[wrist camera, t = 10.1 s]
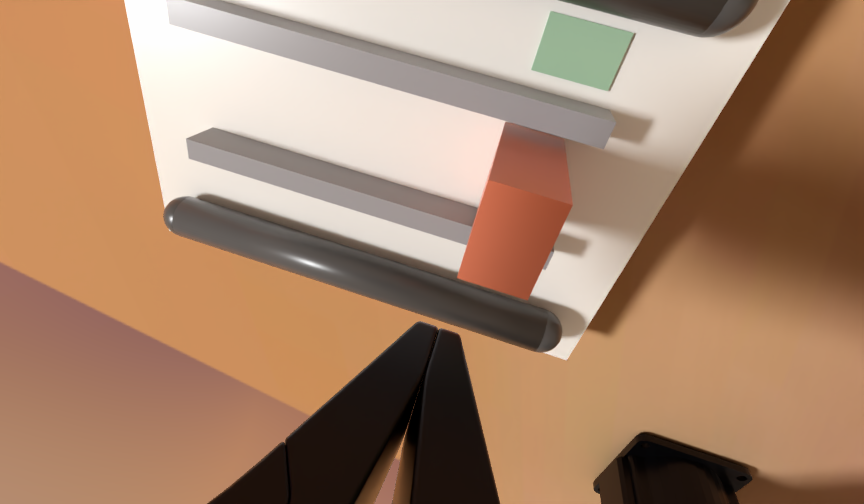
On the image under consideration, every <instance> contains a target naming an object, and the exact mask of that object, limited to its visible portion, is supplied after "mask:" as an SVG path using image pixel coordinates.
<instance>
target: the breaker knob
mask: <svg viewBox="0 0 864 504" xmlns="http://www.w3.org/2000/svg"><path fill="white" fill-rule="evenodd" d="M572 206H573V202H572V195H571V187H570V180H569V172H568V164H567V157H566V149H565V141H564V138H560V137H557V136H553V135H550V134H547V133H543V132H540V131H536V130H533V129H529V128H526V127H522V126H519V125H515V124H512V123H508V122H505V124H504V127H503V131H502V134H501V137H500V140H499V143H498V146H497V149H496V152H495V156H494V159H493V162H492V165H491V168H490V171H489V174H488V178H487V181H486V184H485V187H484V190H483V193H482V196H481V199H480V203H479V206H478V209H477V213H476V216H475V219H474V223H473V226H472V229H471V233H470V236H469V239H468V242H467V246H466V249H465V252H464V256H463V259H462V262H461V266H460V269H459V272H458V276H457V278H458V279H461V280H464V281H468V282H471V283H474V284H477V285H480V286H483V287H486V288H490V289H493V290H496V291H499V292H502V293H505V294H508V295H512V296H515V297H518V298H521V299H524V300H527V301H528V299H529V297H530V294H531V292H532V290H533V288H534V286H535V284H536V282H537V280H538V278H539V275H540V273H541V271H542V269H543V267H544V265H545V263H546V261H547V259H548V256H549V254H550V252H551V250H552V248H553V246H554V244H555V242H556V240H557V237H558V235H559V233H560V231H561V229H562V227H563V225H564V223H565V221H566V218H567V216H568V214H569V212H570V210H571V208H572Z"/></svg>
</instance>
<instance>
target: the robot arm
mask: <svg viewBox="0 0 864 504" xmlns="http://www.w3.org/2000/svg"><path fill="white" fill-rule="evenodd" d="M436 335H437V336H436ZM435 338H436V339H435ZM434 341H435V342H434ZM433 344H434V345H433ZM429 357H430V358H429ZM428 360H429V361H428ZM423 376H424V377H423ZM422 379H423V380H422ZM417 395H418V396H417ZM416 398H417V399H416ZM415 401H416V402H415ZM414 404H415V405H414ZM412 411H413V412H412ZM411 414H412V415H411ZM410 417H411V418H410ZM409 420H410V421H409ZM408 423H409V424H408ZM407 426H408V428H407ZM406 429H407V431H406ZM405 432H406V435H405ZM404 435H405V438H404ZM403 438H404V443H403V448H402V452H401V458H400V463H399V468H398V474H397V479H396V484H395V490H394V495H393V500H392V504H500V501H499V497H498V492H497V488H496V484H495V480H494V476H493V472H492V467H491V463H490V459H489V455H488V451H487V446H486V442H485V438H484V434H483V430H482V426H481V421H480V417H479V413H478V409H477V405H476V401H475V396H474V392H473V388H472V384H471V380H470V375H469V371H468V367H467V363H466V359H465V355H464V350H463V346H462V342H461V338H460V336H459V334H457V333H455V332H452V331H449V330H446V329H442V328H441V329H439V330H438V329H437V327H436V326H433V325H430V324H427V323H424V322H421V321H419V322H417V323H415V324H414V325H413V326H412V327H411V328H410V329H408V330H407V331H406V332H405V333H404V334H403V335H402V336H401V337H399V338H398V339H397V340H396V341H395V342H394V343H393V344H392V345H390V346H389V347H388V348H387V349H386V350H385V351H384V352H383V353H381V354H380V355H379V356H378V357H377V358H376V359H375V360H374V361H372V362H371V363H370V364H369V365H368V366H367V367H366V368H365V369H363V370H362V371H361V372H360V373H359V374H358V375H357V376H356V377H354V378H353V379H352V380H351V381H350V382H349V383H348V384H347V385H345V386H344V387H343V388H342V389H341V390H340V391H339V392H337V393H336V394H335V395H334V396H333V397H332V398H331V399H330V400H328V401H327V402H326V403H325V404H324V405H323V406H322V407H321V408H319V409H318V410H317V411H316V412H315V413H314V414H313V415H312V416H310V417H309V418H308V419H307V420H306V421H305V422H304V423H303V424H301V425H300V426H299V427H298V428H297V429H296V430H295V431H294V432H292V433H291V434H290V435H289V436H288V437H287V438H286V440H285V443H284V442H281V443H280V444H279V445H278V446H276V447H275V448H274V449H273V450H272V451H271V452H270V453H269V454H267V455H266V456H265V457H264V458H263V459H262V460H261V461H259V462H258V463H257V464H256V465H255V466H253V467H252V468H251V469H250V470H249V471H247V472H246V473H245V474H244V475H243V476H242V477H240V478H239V479H238V480H237V481H236V482H234V483H233V484H232V485H231V486H230V487H228V488H227V489H226V490H224V491H223V492H222V493H220V494H219V495H218V496H216V497H215V498H214V499H213V500H211V501H210V502H209V503H207V504H374V503H375V501H376V498H377V496H378V494H379V491H380V489H381V487H382V485H383V483H384V481H385V478H386V476H387V474H388V472H389V470H390V467H391V465H392V463H393V461H394V459H395V456H396V454H397V452H398V450H399V447H400V445H401V443H402V440H403ZM751 481H752V476H751V473H750V471H749V470H748V469H747V468H745V467H743V466H740V465H737V464H734V463H731V462H728V461H725V460H722V459H719V458H716V457H713V456H710V455H707V454H704V453H701V452H698V451H695V450H692V449H689V448H686V447H683V446H680V445H677V444H674V443H671V442H668V441H665V440H662V439H659V438H656V437H653V436H650V435H646V434H640V435H637V436H636V437H635V438H634V439H633V440H632V441H631V442H630V443H629V444H628V445H627V446H626V447H625V448H624V449H623V450H622V452H621V453H620V454H619V455H618V456H617V457H616V458H615V459H614V460H613V461H612V462H611V463H610V464H609V466H608V467H607V468H606V469H605V470H604V471H603V472H602V473H601V474H600V475H599V476H598V477H597V478H596V480H595V481H594V482H593V486H594V491H595V492H596V493H599V494H600V497H601V504H739V502H738V499H737V496H736V494H735V492H737V491H738V490H740V489H741V488H742V487H744V486H745V485H747V484H748V483H749V482H751Z"/></svg>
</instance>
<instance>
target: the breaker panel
mask: <svg viewBox="0 0 864 504" xmlns="http://www.w3.org/2000/svg"><path fill="white" fill-rule="evenodd" d="M124 1H125V6H126V11H127V16H128V22H129V27H130V32H131V37H132V42H133V47H134V52H135V57H136V63H137V68H138V73H139V78H140V83H141V88H142V93H143V98H144V104H145V109H146V114H147V119H148V124H149V129H150V134H151V139H152V145H153V150H154V155H155V160H156V165H157V170H158V175H159V180H160V186H161V191H162V196H163V201H164V206H165V210H164V216H163V217H164V222H165V224H166V226H167V227H168V228H169V231H172V232H173V233H175V234H177V235H179V236H182V237H185V238H188V239H191V240H194V241H197V242H200V243H203V244H206V245H209V246H212V247H216V248H219V249H222V250H225V251H228V252H231V253H234V254H237V255H240V256H243V257H246V258H249V259H252V260H255V261H258V262H261V263H265V264H268V265H271V266H274V267H277V268H280V269H283V270H286V271H289V272H292V273H295V274H298V275H301V276H304V277H307V278H310V279H314V280H317V281H320V282H323V283H326V284H329V285H332V286H335V287H338V288H341V289H344V290H347V291H350V292H353V293H356V294H359V295H362V296H366V297H369V298H372V299H375V300H378V301H381V302H384V303H387V304H390V305H393V306H396V307H399V308H402V309H405V310H408V311H411V312H415V313H418V314H421V315H424V316H427V317H430V318H433V319H436V320H439V321H442V322H445V323H448V324H451V325H454V326H457V327H460V328H464V329H467V330H470V331H473V332H476V333H479V334H482V335H485V336H488V337H491V338H494V339H497V340H500V341H503V342H506V343H509V344H512V345H516V346H519V347H522V348H525V349H528V350H531V351H534V352H540V353H546V354H549V355H552V356H555V357H558V358H561V359H564V360H567V359H568V357H569V356H570V354H571V352H572V351H573V349H574V347H575V346H576V344H577V343H578V341H579V339H580V338H581V336H582V335H583V333H584V331H585V330H586V328H587V327H588V325H589V323H590V322H591V320H592V319H593V317H594V315H595V314H596V312H597V310H598V309H599V307H600V306H601V304H602V302H603V301H604V299H605V298H606V296H607V294H608V293H609V291H610V290H611V288H612V286H613V285H614V283H615V282H616V280H617V278H618V277H619V275H620V273H621V272H622V270H623V269H624V267H625V265H626V264H627V262H628V261H629V259H630V257H631V256H632V254H633V253H634V251H635V249H636V248H637V246H638V245H639V243H640V241H641V240H642V238H643V236H644V235H645V233H646V232H647V230H648V228H649V227H650V225H651V224H652V222H653V220H654V219H655V217H656V216H657V214H658V212H659V211H660V209H661V208H662V206H663V204H664V203H665V201H666V199H667V198H668V196H669V195H670V193H671V191H672V190H673V188H674V187H675V185H676V183H677V182H678V180H679V179H680V177H681V175H682V174H683V172H684V170H685V169H686V167H687V166H688V164H689V162H690V161H691V159H692V158H693V156H694V154H695V153H696V151H697V150H698V148H699V146H700V145H701V143H702V142H703V140H704V138H705V137H706V135H707V133H708V132H709V130H710V129H711V127H712V125H713V124H714V122H715V121H716V119H717V117H718V116H719V114H720V113H721V111H722V109H723V108H724V106H725V105H726V103H727V101H728V100H729V98H730V96H731V95H732V93H733V92H734V90H735V88H736V87H737V85H738V84H739V82H740V80H741V79H742V77H743V76H744V74H745V72H746V71H747V69H748V68H749V66H750V64H751V63H752V61H753V59H754V58H755V56H756V55H757V53H758V51H759V50H760V48H761V47H762V45H763V43H764V42H765V40H766V39H767V37H768V35H769V34H770V32H771V30H772V29H773V27H774V26H775V24H776V22H777V21H778V19H779V18H780V16H781V14H782V13H783V11H784V10H785V8H786V6H787V5H788V3H789V2H790V0H124ZM505 122H508V123H512V124H515V125H519V126H522V127H526V128H529V129H533V130H536V131H540V132H543V133H547V134H550V135H553V136H557V137H560V138H564V141H565V149H566V157H567V164H568V172H569V180H570V187H571V195H572V202H573V206H572V208H571V210H570V212H569V214H568V216H567V218H566V221H565V223H564V225H563V227H562V229H561V231H560V233H559V235H558V237H557V240H556V242H555V244H554V246H553V248H552V250H551V252H550V254H549V256H548V259H547V261H546V263H545V265H544V267H543V269H542V271H541V273H540V275H539V278H538V280H537V282H536V284H535V286H534V288H533V290H532V292H531V294H530V297H529V299H528V301H527V300H524V299H521V298H518V297H515V296H512V295H508V294H505V293H502V292H499V291H496V290H493V289H490V288H486V287H483V286H480V285H477V284H474V283H471V282H468V281H464V280H461V279H458V278H457V276H458V272H459V269H460V266H461V262H462V259H463V256H464V252H465V249H466V246H467V242H468V239H469V236H470V233H471V229H472V226H473V223H474V219H475V216H476V213H477V209H478V206H479V203H480V199H481V196H482V193H483V190H484V187H485V184H486V181H487V178H488V174H489V171H490V168H491V165H492V162H493V159H494V156H495V152H496V149H497V146H498V143H499V140H500V137H501V134H502V131H503V127H504V124H505Z"/></svg>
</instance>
